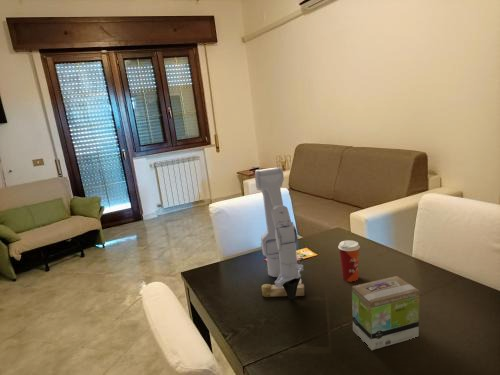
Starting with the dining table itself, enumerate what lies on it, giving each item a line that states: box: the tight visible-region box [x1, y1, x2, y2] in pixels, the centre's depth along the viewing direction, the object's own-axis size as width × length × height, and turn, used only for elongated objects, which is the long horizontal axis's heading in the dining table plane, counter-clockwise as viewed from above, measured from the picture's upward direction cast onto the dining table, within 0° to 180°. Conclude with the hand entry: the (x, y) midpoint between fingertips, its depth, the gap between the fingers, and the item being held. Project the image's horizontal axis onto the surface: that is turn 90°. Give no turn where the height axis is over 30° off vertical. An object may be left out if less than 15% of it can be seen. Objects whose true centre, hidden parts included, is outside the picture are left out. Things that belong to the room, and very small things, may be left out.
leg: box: [261, 283, 305, 298], centre depth 128 cm, size 15×4×3 cm, turn 82°
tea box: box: [351, 275, 420, 351], centre depth 101 cm, size 15×10×15 cm, turn 105°
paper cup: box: [337, 240, 361, 283], centre depth 135 cm, size 8×8×14 cm
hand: (291, 298), depth 124 cm, fingers closed
